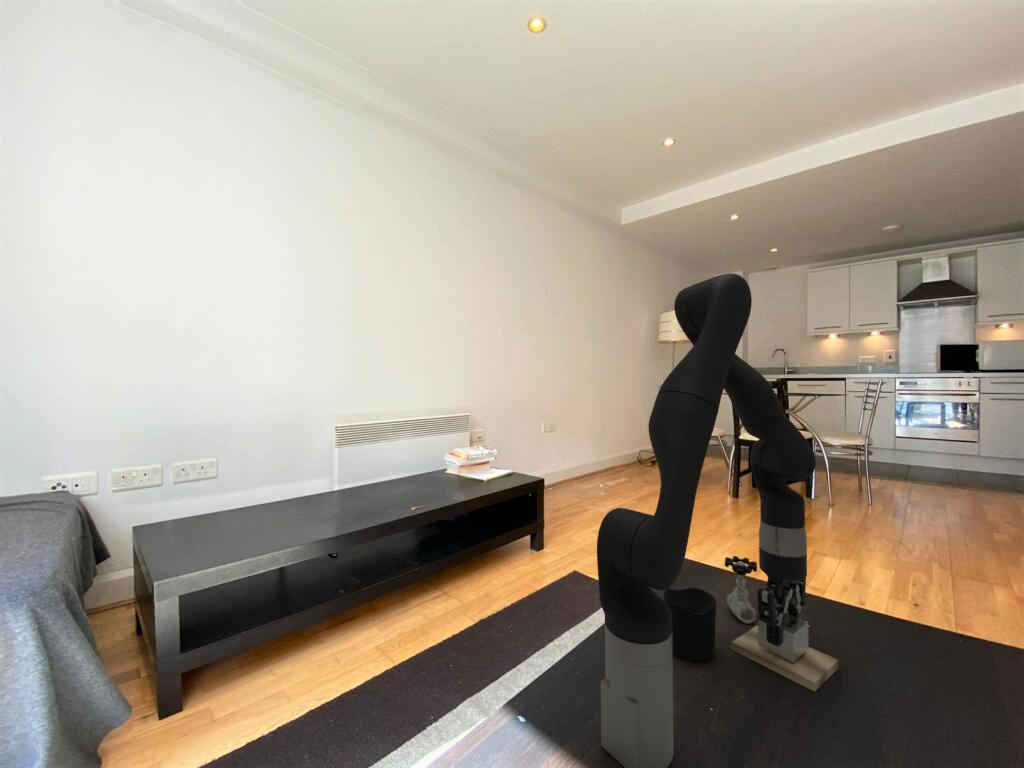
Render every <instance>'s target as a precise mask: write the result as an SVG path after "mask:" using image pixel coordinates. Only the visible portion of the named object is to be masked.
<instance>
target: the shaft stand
mask: <svg viewBox="0 0 1024 768" xmlns="http://www.w3.org/2000/svg"><path fill="white" fill-rule="evenodd" d="M781 625H782V626H784V627H787V628H789V611H788V610H787V613H786V614H783V617H782V622H781ZM808 648H809V649H808V650H807V651H805V652H804V653H803V654H802V655H801V656H800V657H799V658H798V659H797V660H795V661H794V662H792V661H790V660H788V659H786V658H784V657H782V656H780V655H778V654H776V653H774V652H771V651H769V650H767V649H765V648H763V647H761V646H759V645H758V624H757V625H755V626H753V627H752V628H750V629H749V630H748V631H746V632H745V633H743V634H742V635H740V636H739V637H737V638H736V639H734V640H733V641H731V651H733V652H736V653H737V654H739V655H741V656H743V657H745V658H747V659H749V660H751V661H753V662H755V663H757V664H759V665H762V666H763V667H765V668H767V669H769V670H771V671H773V672H775V673H777V674H779V675H781V676H783V677H784V678H787V679H789V680H791V681H793V682H795V684H798V685H801V686H802V687H805V688H806V689H809V690H810V691H813V692H816V691H817V690H818V689H819V688H820V687H821V686H822V685H823V684H824V683H826V681H827V680H828V679H829V678H830V677H831V676H833V674H834V673H835V672H836V671H837V670H839V668H840V667H839V665H840V664H839V663H840V661H839V658H835V657H833V656H831V655H828V654H826V653H823V652H822V651H819V650H817V649H815V648H812V647H811V646H810V647H809V646H808Z"/></svg>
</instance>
